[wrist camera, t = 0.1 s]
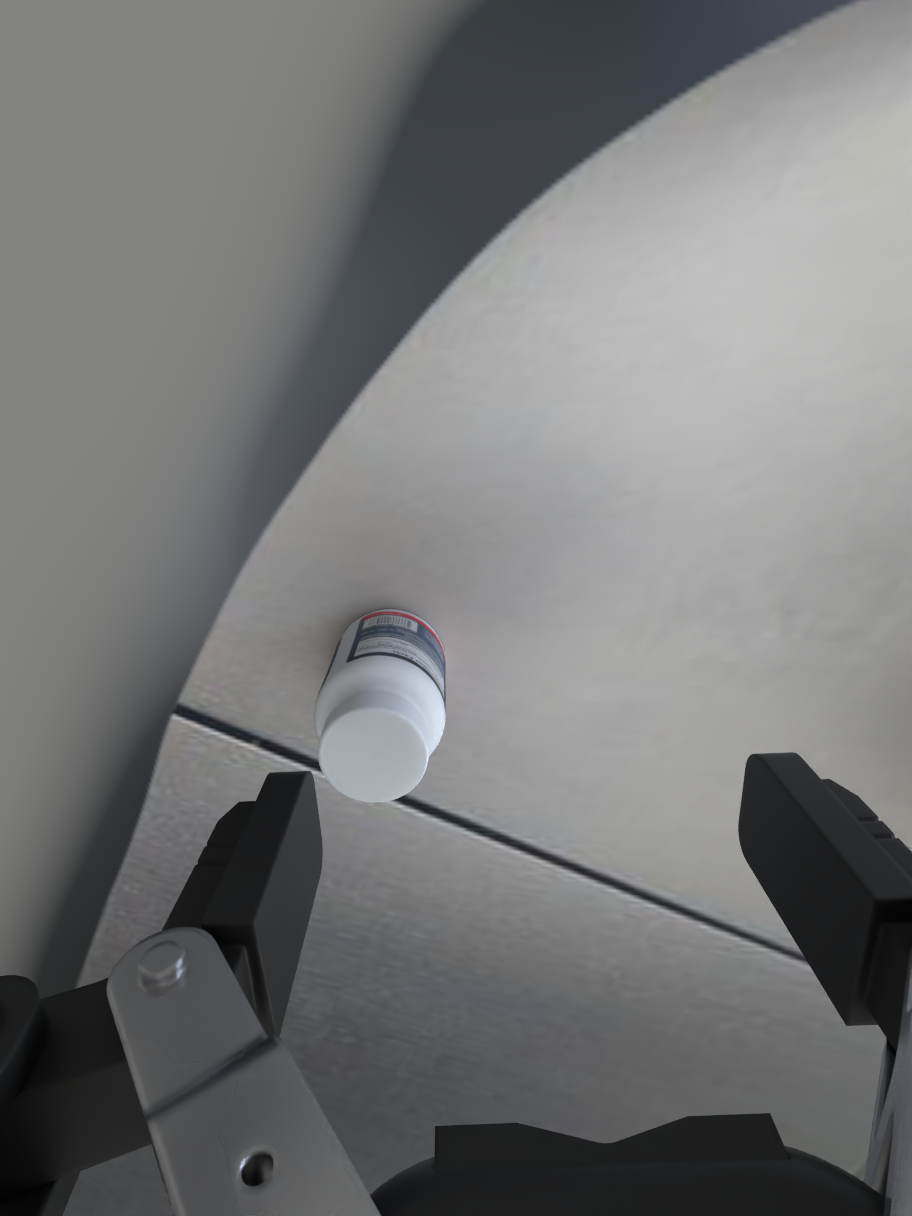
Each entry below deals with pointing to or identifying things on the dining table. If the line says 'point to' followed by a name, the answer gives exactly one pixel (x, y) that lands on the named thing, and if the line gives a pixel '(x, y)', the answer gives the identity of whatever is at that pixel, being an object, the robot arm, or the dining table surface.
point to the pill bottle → (381, 706)
